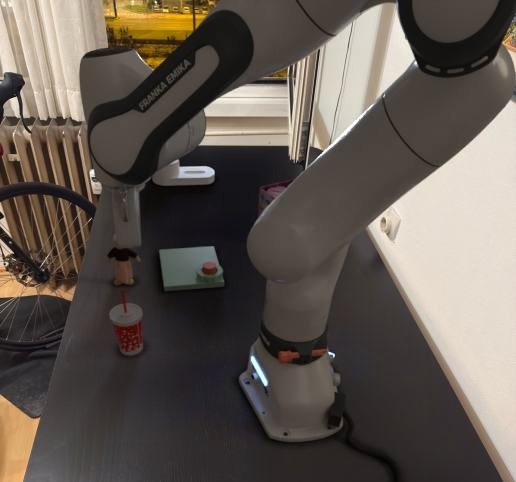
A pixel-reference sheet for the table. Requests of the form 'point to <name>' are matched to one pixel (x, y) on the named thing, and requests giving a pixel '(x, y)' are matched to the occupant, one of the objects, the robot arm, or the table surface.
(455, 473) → the table surface
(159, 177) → the bracket
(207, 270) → the tare button
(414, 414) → the table surface
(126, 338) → the beverage cup
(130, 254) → the grandmother figurine
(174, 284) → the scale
